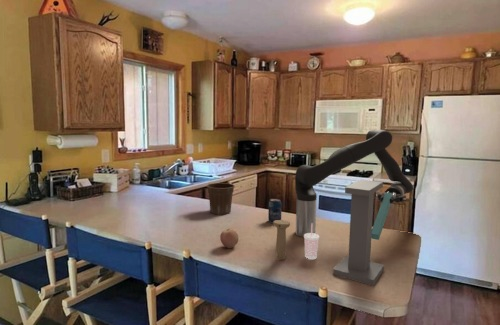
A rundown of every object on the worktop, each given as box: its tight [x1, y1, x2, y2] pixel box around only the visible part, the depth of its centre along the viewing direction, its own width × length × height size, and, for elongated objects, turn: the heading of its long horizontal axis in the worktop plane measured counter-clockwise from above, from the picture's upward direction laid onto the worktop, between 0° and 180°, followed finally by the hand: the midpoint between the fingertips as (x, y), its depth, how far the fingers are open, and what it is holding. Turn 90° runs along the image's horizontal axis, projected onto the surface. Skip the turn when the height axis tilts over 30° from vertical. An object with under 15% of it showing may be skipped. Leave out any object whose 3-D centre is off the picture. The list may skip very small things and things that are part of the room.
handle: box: [272, 219, 291, 261], centre depth 130 cm, size 5×6×15 cm
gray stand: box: [332, 179, 385, 286], centre depth 119 cm, size 18×14×32 cm
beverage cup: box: [303, 223, 320, 260], centre depth 132 cm, size 6×6×14 cm
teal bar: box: [371, 191, 393, 241], centre depth 144 cm, size 26×3×3 cm
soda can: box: [267, 198, 283, 224], centre depth 178 cm, size 7×7×12 cm
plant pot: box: [206, 182, 235, 216], centre depth 195 cm, size 16×16×16 cm
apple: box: [219, 227, 239, 249], centre depth 142 cm, size 8×8×8 cm
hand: (386, 200), depth 148 cm, fingers closed on teal bar, 3 cm apart
